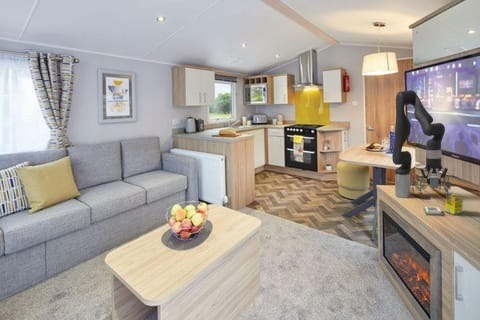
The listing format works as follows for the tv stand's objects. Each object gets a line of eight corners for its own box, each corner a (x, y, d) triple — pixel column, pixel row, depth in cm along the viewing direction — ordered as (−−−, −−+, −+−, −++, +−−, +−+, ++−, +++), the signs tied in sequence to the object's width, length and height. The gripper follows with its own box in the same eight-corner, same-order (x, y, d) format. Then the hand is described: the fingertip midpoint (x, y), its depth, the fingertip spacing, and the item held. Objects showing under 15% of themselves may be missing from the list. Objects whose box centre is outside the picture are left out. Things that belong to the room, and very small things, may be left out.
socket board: (423, 209, 170) (423, 205, 169) (439, 210, 166) (439, 206, 165) (425, 215, 162) (426, 211, 162) (443, 216, 158) (443, 212, 158)
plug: (428, 186, 165) (428, 174, 164) (436, 186, 163) (436, 174, 162) (430, 188, 161) (430, 176, 160) (438, 188, 160) (438, 176, 158)
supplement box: (454, 215, 157) (455, 198, 155) (444, 212, 163) (445, 195, 161) (462, 213, 158) (463, 196, 156) (452, 210, 164) (453, 193, 162)
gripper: (446, 155, 159) (446, 182, 162) (418, 156, 165) (418, 182, 168) (450, 157, 153) (449, 186, 155) (420, 158, 159) (420, 186, 162)
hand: (433, 184), depth 162 cm, fingers closed on plug, 4 cm apart
